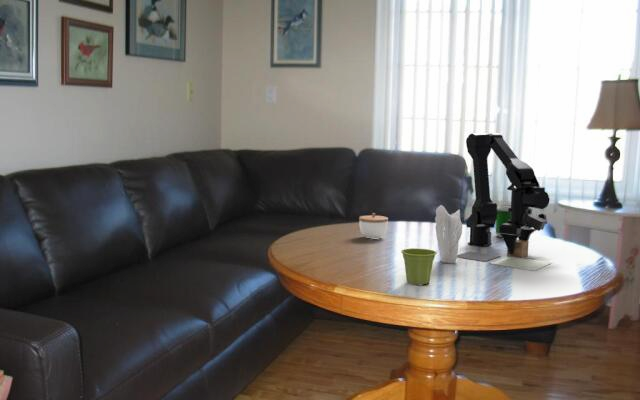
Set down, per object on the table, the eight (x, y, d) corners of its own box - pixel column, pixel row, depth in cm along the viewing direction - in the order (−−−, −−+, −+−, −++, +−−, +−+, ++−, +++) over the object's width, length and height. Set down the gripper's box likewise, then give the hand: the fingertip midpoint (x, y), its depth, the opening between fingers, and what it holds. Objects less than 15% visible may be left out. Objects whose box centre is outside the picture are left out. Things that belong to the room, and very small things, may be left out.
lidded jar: (368, 234, 254) (369, 210, 252) (392, 237, 247) (393, 212, 246) (353, 238, 245) (353, 213, 244) (378, 241, 239) (378, 216, 238)
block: (507, 255, 218) (507, 240, 217) (513, 253, 221) (514, 238, 221) (521, 258, 214) (522, 242, 214) (527, 255, 218) (528, 240, 218)
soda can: (516, 238, 249) (518, 207, 247) (496, 237, 250) (497, 206, 249) (515, 235, 256) (516, 204, 254) (495, 234, 257) (496, 203, 256)
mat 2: (490, 263, 205) (490, 263, 205) (509, 256, 215) (509, 256, 215) (534, 270, 196) (534, 270, 196) (552, 263, 207) (552, 262, 207)
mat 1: (453, 256, 214) (453, 256, 214) (469, 251, 223) (469, 251, 223) (485, 261, 207) (485, 261, 207) (500, 256, 216) (500, 255, 216)
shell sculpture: (461, 260, 209) (463, 203, 207) (460, 265, 201) (463, 207, 199) (434, 258, 211) (436, 202, 209) (433, 264, 203) (435, 205, 201)
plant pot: (397, 278, 184) (398, 248, 183) (430, 278, 185) (431, 248, 184) (404, 287, 175) (405, 255, 174) (439, 287, 176) (440, 254, 174)
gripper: (532, 210, 204) (530, 260, 206) (555, 204, 218) (552, 251, 220) (498, 206, 211) (496, 255, 213) (522, 201, 225) (520, 247, 227)
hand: (517, 252), depth 218 cm, fingers open, 9 cm apart
